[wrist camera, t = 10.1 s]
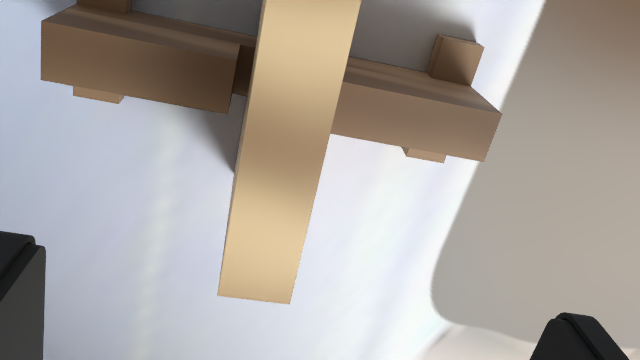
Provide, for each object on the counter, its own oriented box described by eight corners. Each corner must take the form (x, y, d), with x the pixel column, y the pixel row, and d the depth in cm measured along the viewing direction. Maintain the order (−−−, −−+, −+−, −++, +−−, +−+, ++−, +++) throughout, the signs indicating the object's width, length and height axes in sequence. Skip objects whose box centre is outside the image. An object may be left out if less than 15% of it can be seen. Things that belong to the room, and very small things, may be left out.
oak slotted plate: (283, 182, 29) (289, 304, 20) (234, 174, 28) (217, 295, 20) (334, -63, 24) (372, -46, 15) (275, -76, 23) (277, -68, 15)
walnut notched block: (438, 155, 29) (468, 200, 24) (79, 89, 26) (40, 126, 21) (477, 42, 26) (519, 69, 22) (85, -46, 23) (42, -35, 19)
